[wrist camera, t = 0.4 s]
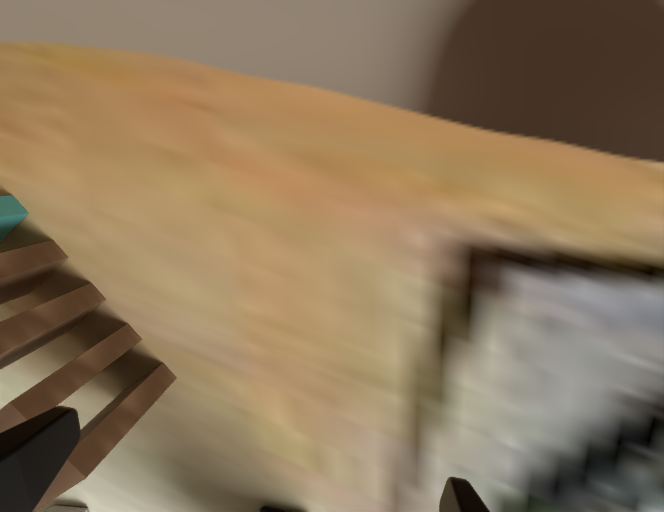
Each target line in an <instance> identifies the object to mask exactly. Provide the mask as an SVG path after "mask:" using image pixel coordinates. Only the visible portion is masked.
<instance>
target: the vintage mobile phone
mask: <svg viewBox="0 0 664 512" xmlns="http://www.w3.org/2000/svg"><path fill="white" fill-rule="evenodd" d="M46 512H89V511H88V508H82V507H71V506H59V505H54V506H50V507H49V508H48V509H47V510H46Z"/></svg>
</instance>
